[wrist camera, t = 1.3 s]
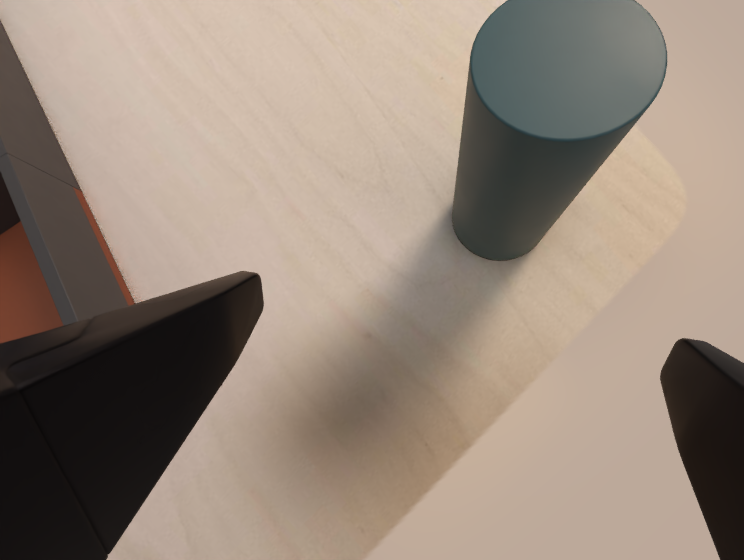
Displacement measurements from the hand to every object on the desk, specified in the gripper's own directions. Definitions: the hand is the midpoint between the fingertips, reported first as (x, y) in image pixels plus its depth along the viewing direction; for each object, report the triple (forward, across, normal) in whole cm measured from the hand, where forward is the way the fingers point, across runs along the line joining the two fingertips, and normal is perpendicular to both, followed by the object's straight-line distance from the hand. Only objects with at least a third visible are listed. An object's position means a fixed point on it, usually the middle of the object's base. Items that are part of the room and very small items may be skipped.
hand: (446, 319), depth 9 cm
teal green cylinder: (+15, -2, +3) cm, 16 cm away
